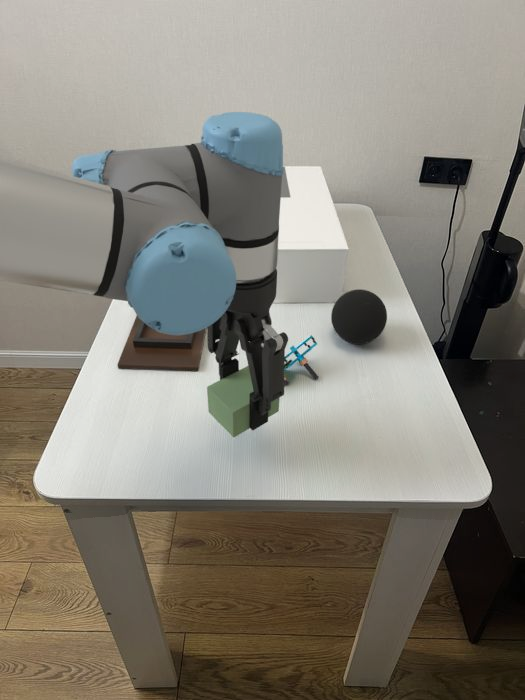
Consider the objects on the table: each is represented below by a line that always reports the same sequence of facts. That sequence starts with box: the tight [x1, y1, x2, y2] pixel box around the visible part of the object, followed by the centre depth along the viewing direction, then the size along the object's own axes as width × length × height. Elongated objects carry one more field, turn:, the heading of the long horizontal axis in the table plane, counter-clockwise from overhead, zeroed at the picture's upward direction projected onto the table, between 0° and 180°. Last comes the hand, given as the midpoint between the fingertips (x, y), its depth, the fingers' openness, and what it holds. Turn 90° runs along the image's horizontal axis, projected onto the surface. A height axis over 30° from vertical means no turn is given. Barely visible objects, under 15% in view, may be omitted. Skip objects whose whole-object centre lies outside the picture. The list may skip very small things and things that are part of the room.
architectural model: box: [272, 165, 350, 304], centre depth 115 cm, size 45×21×12 cm, turn 2°
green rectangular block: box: [206, 365, 280, 438], centre depth 68 cm, size 8×6×5 cm
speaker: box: [330, 289, 388, 345], centre depth 89 cm, size 10×10×10 cm
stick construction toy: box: [284, 335, 319, 386], centre depth 83 cm, size 12×7×8 cm
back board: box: [117, 315, 207, 372], centre depth 93 cm, size 22×14×2 cm, turn 178°
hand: (244, 410), depth 69 cm, fingers closed on green rectangular block, 6 cm apart
